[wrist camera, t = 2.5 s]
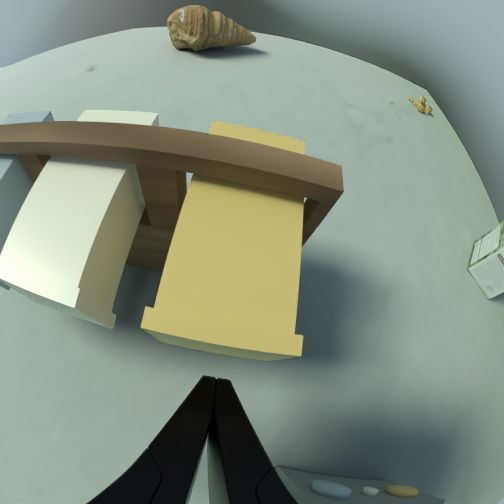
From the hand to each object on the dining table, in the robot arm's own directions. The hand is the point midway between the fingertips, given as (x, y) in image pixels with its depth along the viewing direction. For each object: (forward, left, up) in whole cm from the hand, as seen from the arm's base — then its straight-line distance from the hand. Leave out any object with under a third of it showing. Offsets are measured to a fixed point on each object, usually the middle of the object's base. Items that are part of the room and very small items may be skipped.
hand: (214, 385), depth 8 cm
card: (-5, -12, -9) cm, 15 cm away
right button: (+5, +1, -2) cm, 6 cm away
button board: (+6, +9, -9) cm, 14 cm away
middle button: (+4, +8, -2) cm, 9 cm away
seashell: (+38, +20, -9) cm, 44 cm away
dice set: (+52, -16, -10) cm, 56 cm away
